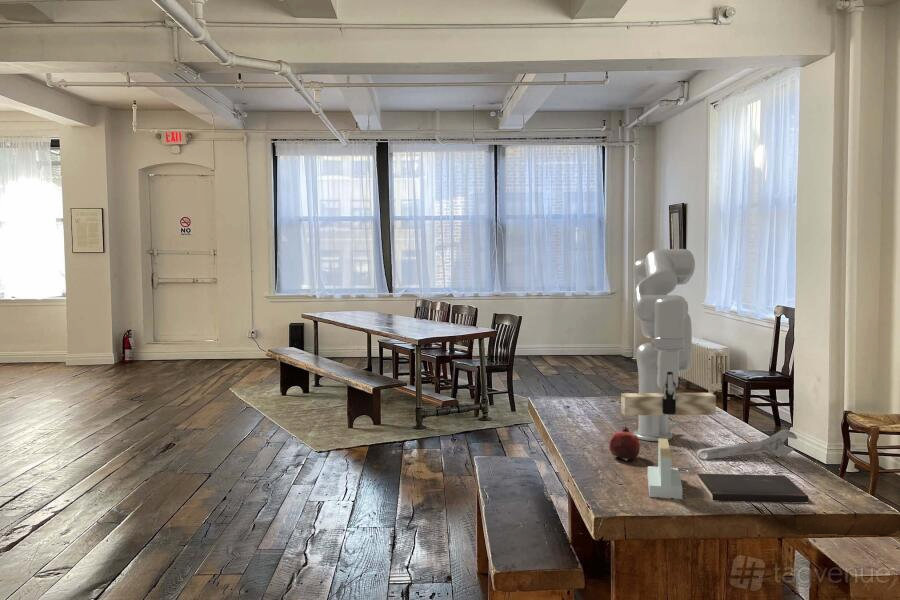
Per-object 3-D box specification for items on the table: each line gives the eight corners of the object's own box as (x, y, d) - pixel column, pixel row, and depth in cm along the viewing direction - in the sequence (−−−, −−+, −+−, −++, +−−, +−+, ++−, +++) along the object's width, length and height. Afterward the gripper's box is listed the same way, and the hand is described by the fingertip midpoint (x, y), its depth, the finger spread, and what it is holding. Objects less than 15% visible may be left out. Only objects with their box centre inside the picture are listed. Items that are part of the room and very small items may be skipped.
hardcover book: (697, 481, 191) (697, 473, 191) (784, 483, 189) (785, 475, 189) (712, 502, 176) (712, 493, 175) (808, 505, 173) (808, 496, 173)
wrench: (698, 467, 211) (796, 454, 211) (700, 469, 209) (799, 456, 209) (695, 441, 210) (793, 428, 211) (697, 443, 208) (796, 429, 209)
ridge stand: (647, 476, 194) (647, 437, 193) (677, 478, 192) (678, 439, 191) (649, 496, 179) (649, 454, 178) (682, 499, 177) (682, 456, 176)
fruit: (626, 465, 205) (626, 431, 204) (602, 457, 212) (602, 425, 212) (647, 459, 210) (647, 426, 209) (623, 452, 217) (623, 420, 217)
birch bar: (709, 410, 189) (710, 392, 189) (715, 414, 185) (716, 396, 185) (621, 411, 190) (621, 393, 189) (624, 415, 185) (624, 396, 185)
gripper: (652, 339, 195) (652, 403, 196) (656, 348, 179) (655, 418, 180) (680, 340, 193) (680, 405, 195) (686, 349, 177) (686, 419, 178)
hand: (668, 410), depth 187 cm, fingers closed on birch bar, 5 cm apart
